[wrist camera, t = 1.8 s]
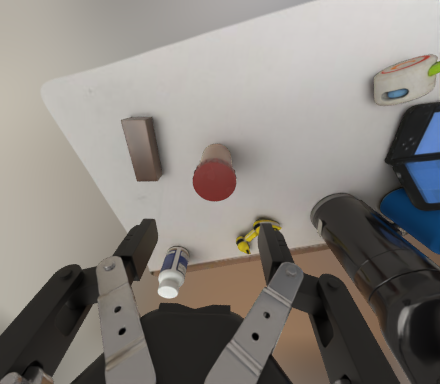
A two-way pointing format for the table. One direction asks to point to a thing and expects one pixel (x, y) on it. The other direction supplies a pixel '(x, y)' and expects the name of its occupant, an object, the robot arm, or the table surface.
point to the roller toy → (406, 80)
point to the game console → (419, 156)
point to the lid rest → (142, 148)
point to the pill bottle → (173, 272)
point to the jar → (216, 153)
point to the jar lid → (214, 179)
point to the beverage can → (413, 219)
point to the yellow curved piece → (253, 235)
